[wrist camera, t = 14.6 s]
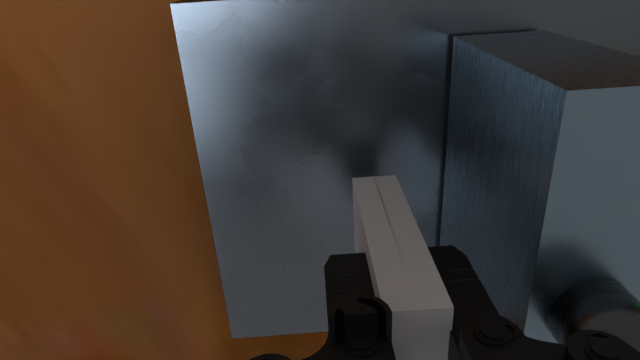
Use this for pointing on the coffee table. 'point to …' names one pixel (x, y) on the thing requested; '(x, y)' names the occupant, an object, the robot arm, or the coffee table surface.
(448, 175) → the block
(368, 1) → the vise
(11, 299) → the coffee table surface
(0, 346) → the coffee table surface
